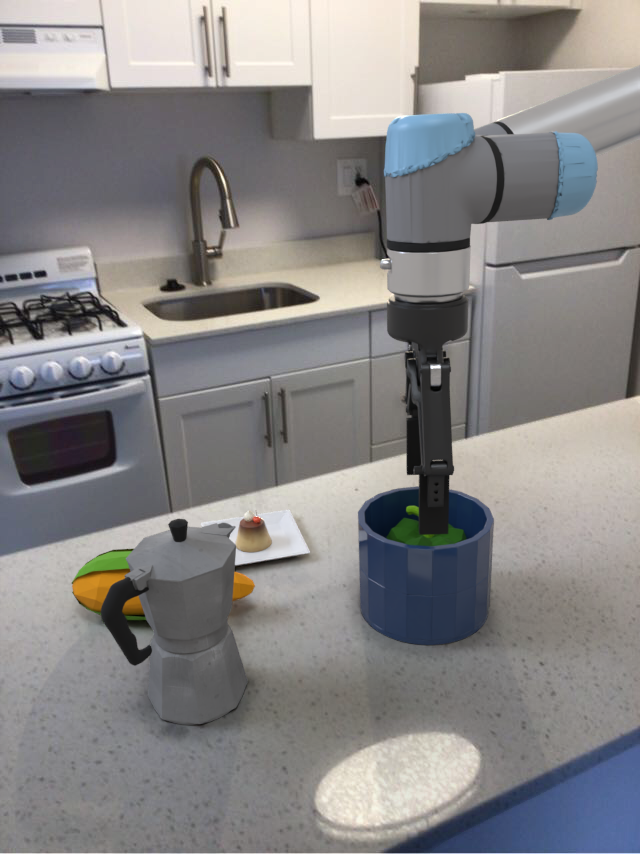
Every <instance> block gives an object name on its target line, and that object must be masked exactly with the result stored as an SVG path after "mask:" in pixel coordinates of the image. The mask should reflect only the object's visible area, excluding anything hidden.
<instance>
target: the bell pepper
mask: <svg viewBox="0 0 640 854" xmlns="http://www.w3.org/2000/svg"><path fill="white" fill-rule="evenodd" d="M406 512H407V513H408V515H412V514H414V515H417V516H418V517H419V507H417V506H408V507H406ZM387 539H388V540H392V541H396V542H400V543H404V544H408V545H419V546H439V545H448V544H455V543H458V542H461V541H464V540H466V539H467V538H466V535H465V533H464V530H462V529H457V528H454V527H452V526H451V525H450V524H449V523H448V534H430V535H419V521H417V520H413V519H408V518H403V519H402V520H401V521H400V522H399V523H398V524H397V525H396V526H395V527H394V528H392V529H391V531H390V532H389V534H388V536H387Z"/></svg>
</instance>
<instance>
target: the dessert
mask: <svg viewBox="0 0 640 854" xmlns="http://www.w3.org/2000/svg"><path fill="white" fill-rule="evenodd" d="M215 523H217V524H220V523H228V524H230V525H231V526H235V527H236V528H235V529H234V530H233V531H232V533H231V534H230V537H229V539H230V540H231V541H232V542H233V543H234V544H236V556H235V567H240V566H247V565H252V564H259V563H263V562H270V561H275V560H276V561H277V560H281V559H288V558H289V559H290V558H295V557H298V556H299V557H300V556H302V555H307V554H310V553H311V551H310V549H309V547H308V544H307V543H306V540H305V538H304V536H303V534H302V532H301V530H300V528H299V526H298V524H297V522H296V519H295V518H294V515H293V514H292V511H291V510H290V509H289V508H288V509H282V510H275V511H269V512H262V513H258V512H257V511H255V513H254V512H253V511H252V510H247V511H246V512H244V515H243V516H236V517H235V516H234V517H230V518H223V519H217V520H210V521H203V522H200V528H202V527H204V526H208V525H211V524H215Z"/></svg>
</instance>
